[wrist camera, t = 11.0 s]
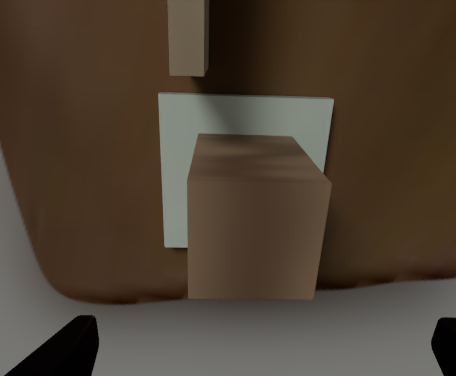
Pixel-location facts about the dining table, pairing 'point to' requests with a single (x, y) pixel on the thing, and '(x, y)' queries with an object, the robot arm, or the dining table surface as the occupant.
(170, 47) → the wooden u-shaped frame
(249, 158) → the block
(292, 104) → the tile
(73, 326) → the robot arm
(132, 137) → the dining table surface
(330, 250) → the dining table surface
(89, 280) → the dining table surface
